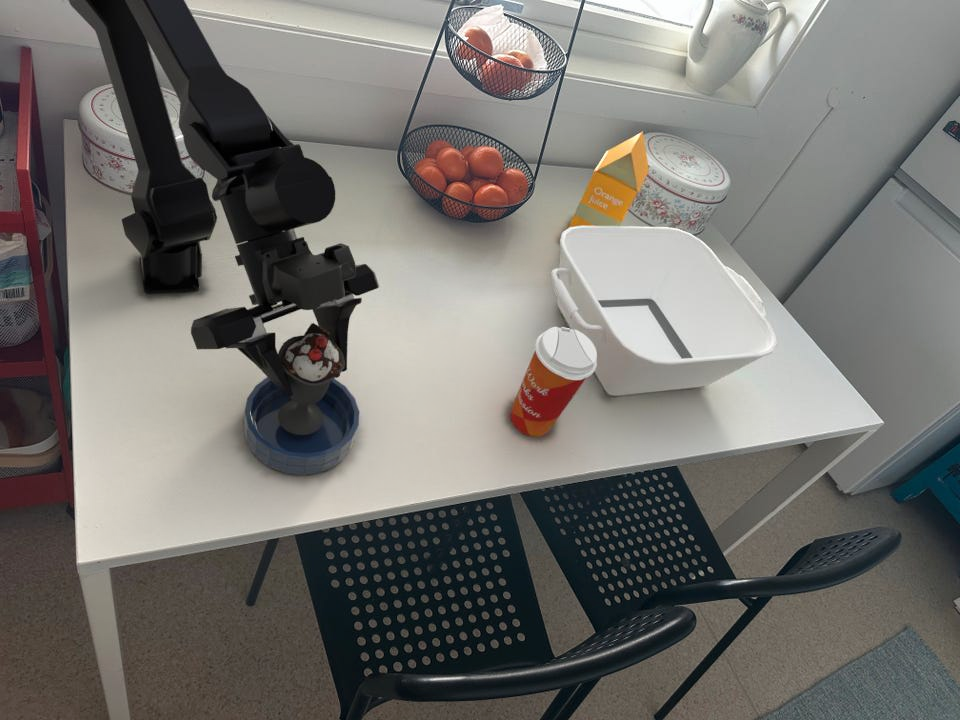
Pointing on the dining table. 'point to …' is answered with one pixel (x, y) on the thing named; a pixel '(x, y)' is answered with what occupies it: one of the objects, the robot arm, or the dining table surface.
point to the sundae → (308, 378)
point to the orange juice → (613, 185)
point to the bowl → (300, 449)
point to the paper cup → (552, 379)
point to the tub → (657, 308)
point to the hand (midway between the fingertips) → (316, 383)
